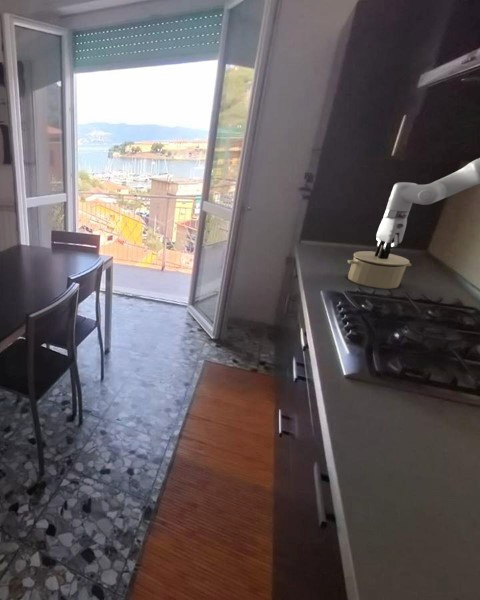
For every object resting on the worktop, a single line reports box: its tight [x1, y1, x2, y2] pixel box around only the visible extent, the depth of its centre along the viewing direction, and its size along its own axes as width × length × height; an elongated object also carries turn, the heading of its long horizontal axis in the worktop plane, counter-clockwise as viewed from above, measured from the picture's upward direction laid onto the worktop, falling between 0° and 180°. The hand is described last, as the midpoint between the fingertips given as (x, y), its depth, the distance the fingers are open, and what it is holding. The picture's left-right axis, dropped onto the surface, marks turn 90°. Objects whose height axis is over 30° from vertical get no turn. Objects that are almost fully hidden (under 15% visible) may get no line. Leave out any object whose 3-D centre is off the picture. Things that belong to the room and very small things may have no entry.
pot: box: [347, 255, 413, 290], centre depth 155 cm, size 18×23×10 cm
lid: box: [353, 244, 410, 266], centre depth 152 cm, size 19×19×7 cm
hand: (381, 257), depth 153 cm, fingers closed on lid, 2 cm apart
